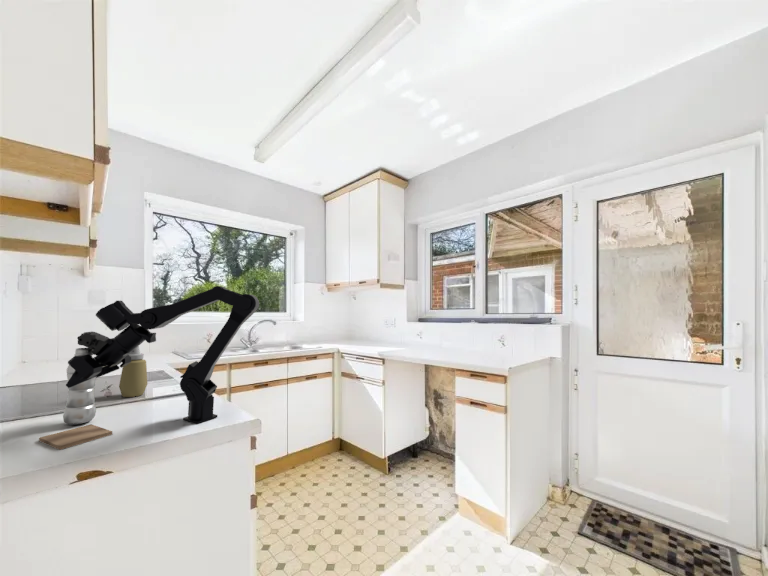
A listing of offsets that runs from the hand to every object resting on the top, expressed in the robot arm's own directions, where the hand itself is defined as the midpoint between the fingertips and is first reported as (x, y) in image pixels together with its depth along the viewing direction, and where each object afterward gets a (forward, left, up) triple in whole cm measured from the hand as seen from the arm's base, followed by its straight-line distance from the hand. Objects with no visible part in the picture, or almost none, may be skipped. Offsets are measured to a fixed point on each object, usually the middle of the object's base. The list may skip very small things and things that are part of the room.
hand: (76, 383), depth 90 cm
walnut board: (-12, +4, -11) cm, 17 cm away
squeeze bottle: (+16, -23, -11) cm, 30 cm away
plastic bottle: (-1, -1, -11) cm, 11 cm away
